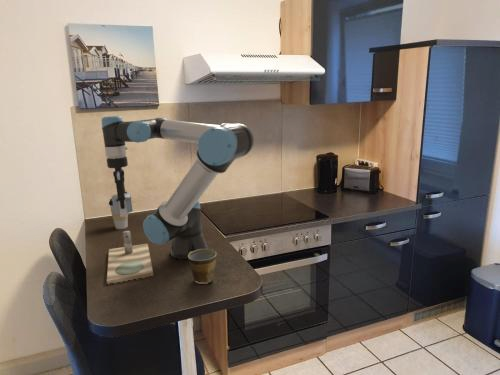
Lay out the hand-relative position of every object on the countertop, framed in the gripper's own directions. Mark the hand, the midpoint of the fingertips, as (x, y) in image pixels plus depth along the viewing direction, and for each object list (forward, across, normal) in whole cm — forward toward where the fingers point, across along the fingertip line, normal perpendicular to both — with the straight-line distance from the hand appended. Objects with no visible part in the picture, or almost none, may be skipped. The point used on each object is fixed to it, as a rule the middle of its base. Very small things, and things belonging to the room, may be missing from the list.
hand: (124, 213), depth 154 cm
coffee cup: (+19, +40, +4) cm, 44 cm away
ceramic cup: (+19, -30, -24) cm, 43 cm away
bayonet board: (+19, -7, 0) cm, 20 cm away
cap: (-1, 0, 0) cm, 1 cm away
